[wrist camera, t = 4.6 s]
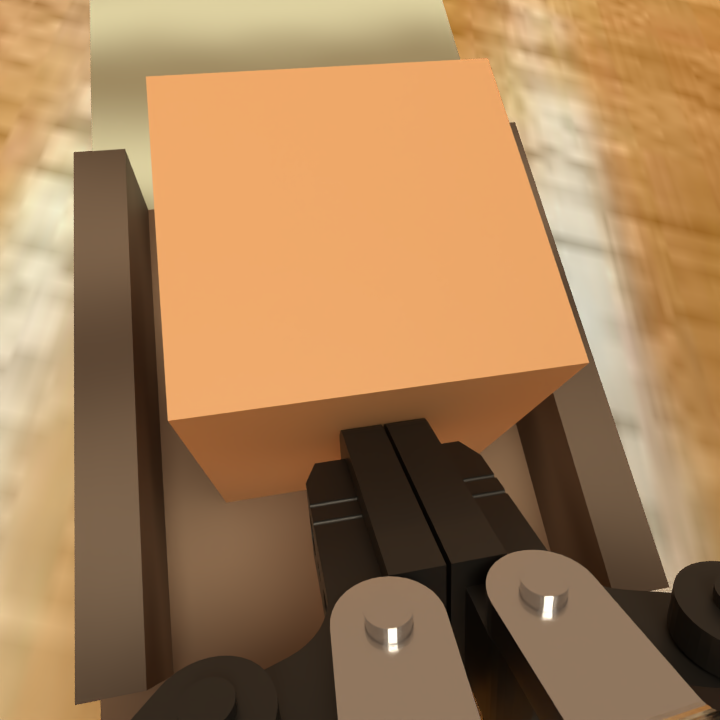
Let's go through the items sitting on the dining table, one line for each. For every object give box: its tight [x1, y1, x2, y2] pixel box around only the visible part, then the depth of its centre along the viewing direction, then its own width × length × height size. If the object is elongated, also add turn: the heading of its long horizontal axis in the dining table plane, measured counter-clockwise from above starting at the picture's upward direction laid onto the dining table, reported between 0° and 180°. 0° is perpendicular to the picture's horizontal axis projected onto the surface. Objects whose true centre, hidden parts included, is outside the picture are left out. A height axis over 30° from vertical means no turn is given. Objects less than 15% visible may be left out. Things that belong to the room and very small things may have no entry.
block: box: [146, 58, 589, 503], centre depth 13 cm, size 6×6×7 cm
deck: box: [74, 0, 669, 720], centre depth 19 cm, size 32×12×6 cm, turn 10°
